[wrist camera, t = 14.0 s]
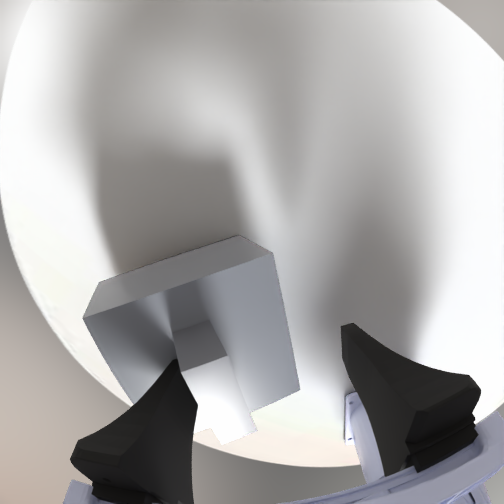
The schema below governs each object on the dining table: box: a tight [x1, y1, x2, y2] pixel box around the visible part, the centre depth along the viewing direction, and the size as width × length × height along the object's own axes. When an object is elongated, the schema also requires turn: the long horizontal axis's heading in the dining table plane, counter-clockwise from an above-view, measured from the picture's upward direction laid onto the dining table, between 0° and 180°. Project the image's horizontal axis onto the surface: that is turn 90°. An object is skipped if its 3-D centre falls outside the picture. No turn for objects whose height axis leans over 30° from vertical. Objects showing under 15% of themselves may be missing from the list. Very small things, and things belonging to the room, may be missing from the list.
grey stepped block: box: [83, 235, 300, 444], centre depth 14 cm, size 9×9×8 cm
